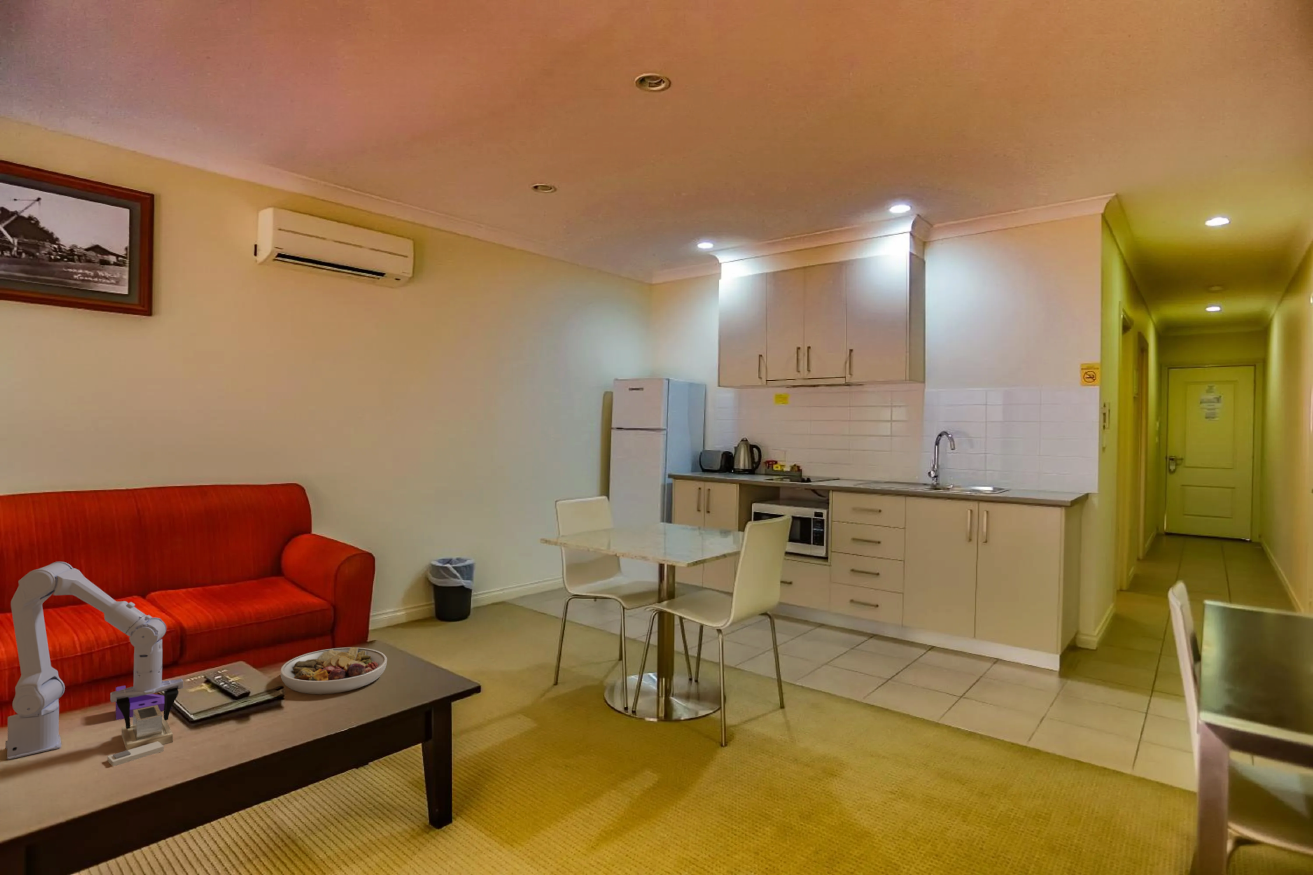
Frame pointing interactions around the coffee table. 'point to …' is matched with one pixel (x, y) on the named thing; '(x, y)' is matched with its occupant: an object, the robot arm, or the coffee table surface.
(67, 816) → the coffee table surface
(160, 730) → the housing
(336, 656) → the bowl
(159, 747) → the block
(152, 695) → the bracket
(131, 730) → the beige shallow tray
